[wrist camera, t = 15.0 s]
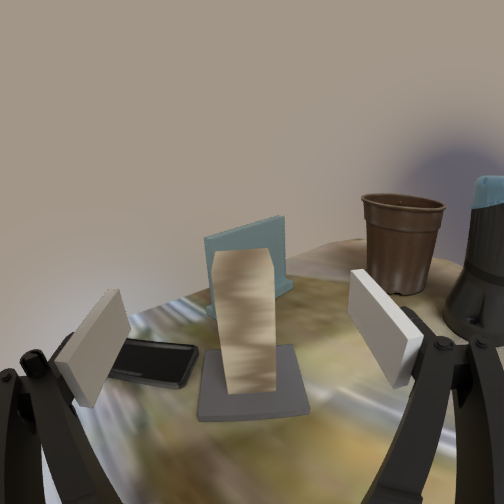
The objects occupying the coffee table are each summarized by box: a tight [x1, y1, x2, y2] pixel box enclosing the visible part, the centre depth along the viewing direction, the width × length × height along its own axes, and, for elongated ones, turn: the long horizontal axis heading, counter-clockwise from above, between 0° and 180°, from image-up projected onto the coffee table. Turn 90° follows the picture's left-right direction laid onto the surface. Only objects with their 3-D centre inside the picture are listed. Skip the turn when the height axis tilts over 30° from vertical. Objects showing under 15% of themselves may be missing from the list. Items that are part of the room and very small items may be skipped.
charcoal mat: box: [197, 344, 310, 422], centre depth 30 cm, size 11×11×1 cm
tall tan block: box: [211, 248, 276, 394], centre depth 28 cm, size 5×5×14 cm
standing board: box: [204, 216, 293, 320], centre depth 47 cm, size 5×16×13 cm, turn 136°
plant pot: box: [361, 193, 446, 295], centre depth 49 cm, size 16×16×16 cm
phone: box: [107, 338, 199, 389], centre depth 34 cm, size 8×1×15 cm
